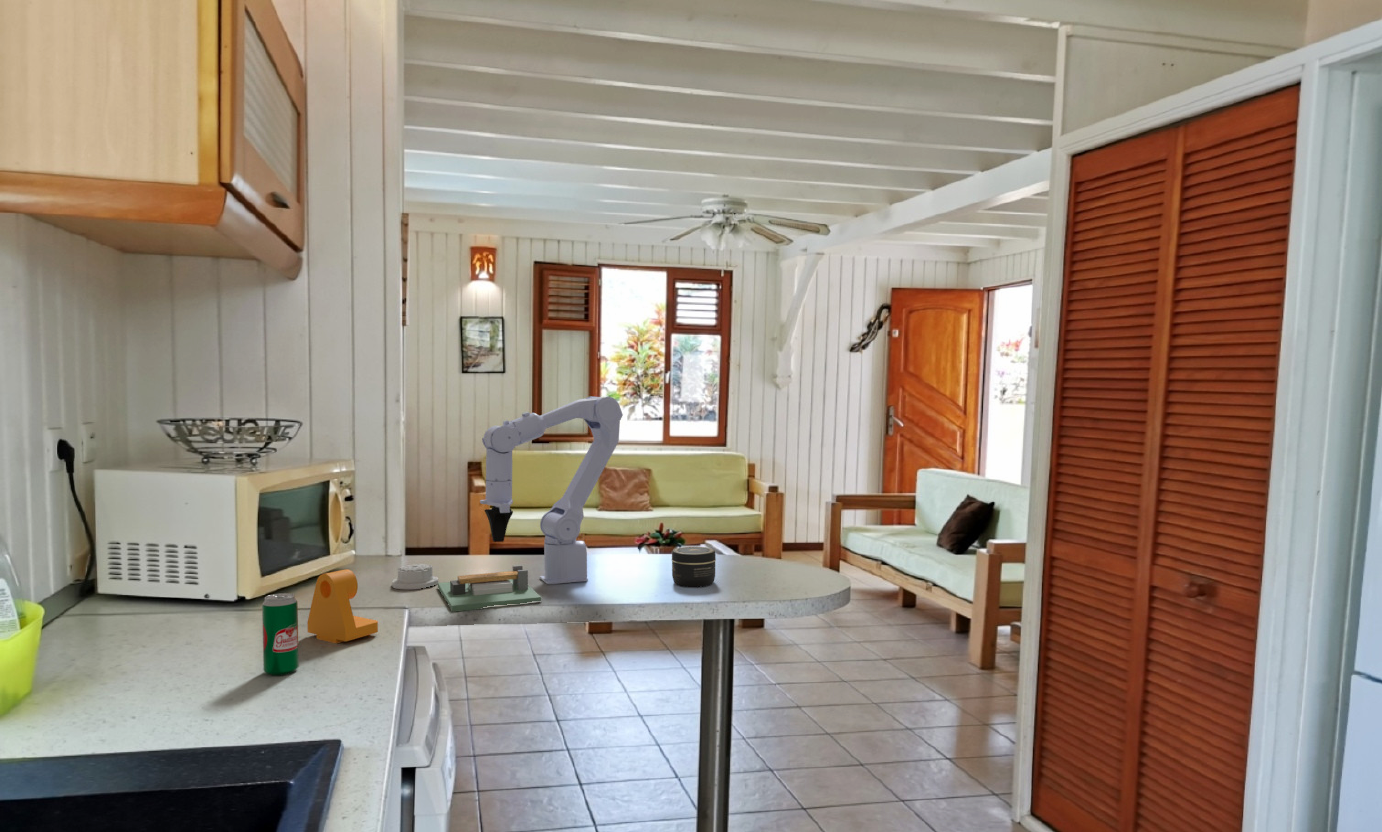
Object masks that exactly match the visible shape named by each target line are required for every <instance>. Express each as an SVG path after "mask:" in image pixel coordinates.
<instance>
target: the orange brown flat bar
mask: <svg viewBox="0 0 1382 832" xmlns="http://www.w3.org/2000/svg"><path fill="white" fill-rule="evenodd" d="M510 579H518V570H516V571H513V570H509V571H501V572H500V571H498V572H488V573H487V572H486V573H477V574H475V573H474V574H465V575H458V576H457V580H458V582H459V583H460V584H467V583H478V582H489V581H499V580H510Z"/></svg>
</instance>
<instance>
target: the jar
mask: <svg viewBox="0 0 1382 832" xmlns="http://www.w3.org/2000/svg"><path fill="white" fill-rule="evenodd" d="M716 557H717V556H716V551H715V549H714V548H711V547H706V546H681V547H676V548H674V549H672V551H671V575H672V580H673V583H674V584H675V586H678V587H681V588H687V589H688V588H694V589H696V588H697V589H698V588H706V587H710V586H712V585H713V583H714V582H715V579H716V560H717V558H716Z"/></svg>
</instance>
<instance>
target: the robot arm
mask: <svg viewBox="0 0 1382 832" xmlns="http://www.w3.org/2000/svg"><path fill="white" fill-rule="evenodd" d="M521 415H522V416H520V417H517V418H515V419H512V420H507V419H505V420H504V421H502V425H493V426H490V427H489V428H487V430H486V431H485V432H484V434H483V437H482V444H483V446H484V448H485V449H486V454H485V499H480V500H479V503H480V504H481V505H488V506H492V507H491V508H488V509H484V512H485V515H486V517H487V519H488V523H489V527H490V533H491V538H492V541H493V542H494V543H500V542H501V543H502V542H503V543H504V541H505V537H506V533H507V532H506V531H507V529H508V524H509V521H510V519H511V517H512V516H513V514H514V511H513V510H512V508H511V506H512V505H513V503H514V500H513V450H515V447H518V446H521V445H522V444H526V443H528V442H531V441H533V440H535V439H539V438H541V437H542V436H544V434H545V432H546V429H549V428H552V427H554V426H557V425H561V424H563V423H565V422H569V421H572V420H575V419H583V421H584V422H585V424H586V425H587V426H588V427H589V429H590V431H591V434H592V436H593V440H592V443H591V444H590V446H589V448H588V450H587V452H586V454H585V455H584V458H583V459H582V461H581V462H580V465H579V466H578V468H577V469H576V472H575V474H574V475H573V477H572V479H571V481H570V482H569V484H568V486H567V487H566V490H565V491H564V493H563V495H562V496H561V498H559V499H558V500H557V501H556V502H555V503H553V504H552V507H550V510H548V511H547V512H545V513H544V514H543V516H542V517H541V519H540V521H539V522H540V524H539V527H540V531H541V532H542V534H543V535H544V537H545V538H544V540H543V541H544V543H543V546H544V548H543V550H544V552H543V553H544V555H543V556H544V559H543V560H544V575H539V579H541V580H542V581H543V582H544V583H545V584H547V585H557V584H568V583H580V582H587V581H589V579H588V552H587V545H586V543H585V541H584V540H577V538H578V537H579V535H580V532H581V526H582V525H581V524H582V522H583V520H584V517H585V515H584V507H585V504H586V503H587V501H588V499H589V497H590V495H591V493H592V491H593V490H594V488H595V487H596V484H597V483H598V480H599V478H600V477H601V476H602V473H603V471H604V470H605V468H606V465H607V464H608V462H609V461H610V458H611V456H612V455H613V453H614V451H615V449H616V447H617V446H618V443H619V441H620V424H621V420H622V418H623V412H622V409H621V406H620V404H619V402H618V401H617V400H616V399H615V398H614V397H611V396H604V397H603V396H594V395H593V396H587V397H585V398H580V399H576V400H573V401H571V402H568V403H566V404H564V405H562V406H560V407H557V408H555V409H552V410H550V411H547V412H546V413H543V414H541V415H539V414H537V413H535V412H531V413H530V412H529V411H526V412H523V413H521Z"/></svg>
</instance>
